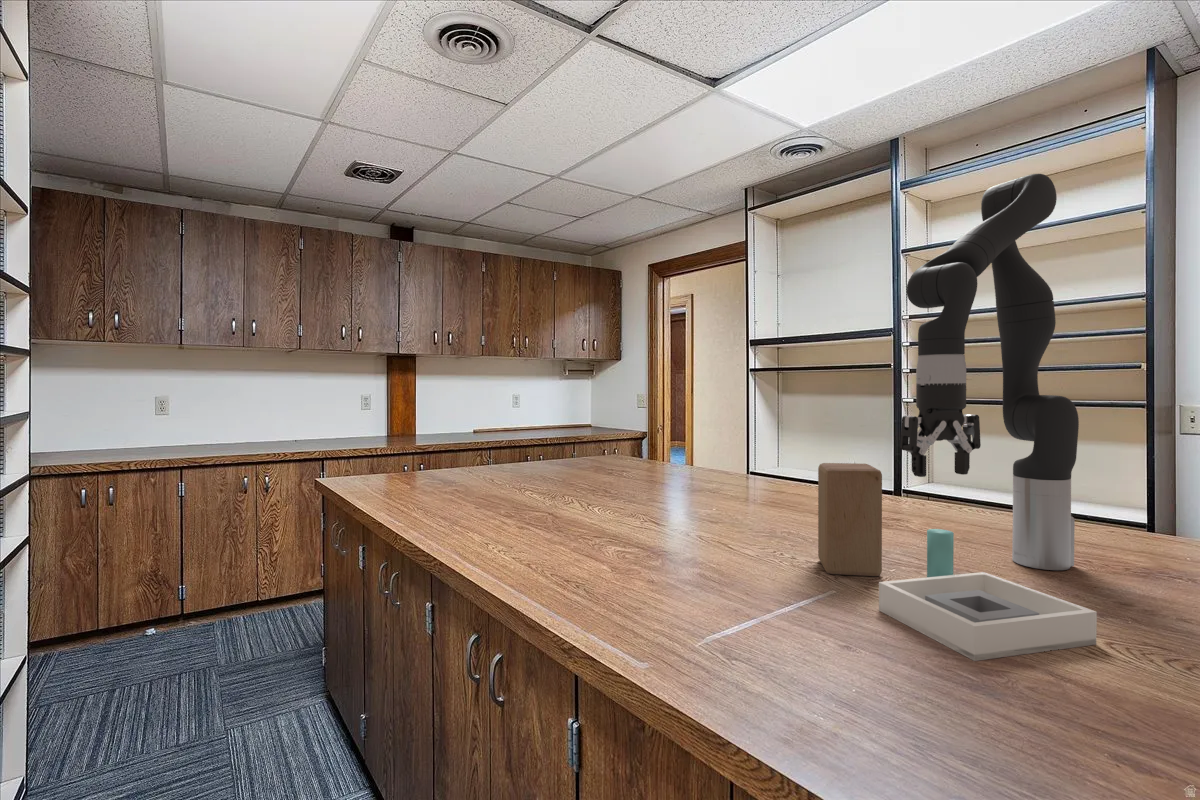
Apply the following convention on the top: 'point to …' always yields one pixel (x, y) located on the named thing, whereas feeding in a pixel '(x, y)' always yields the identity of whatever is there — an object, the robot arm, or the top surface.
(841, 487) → the wooden block
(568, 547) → the top surface
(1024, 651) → the bin
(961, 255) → the robot arm
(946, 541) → the peg
